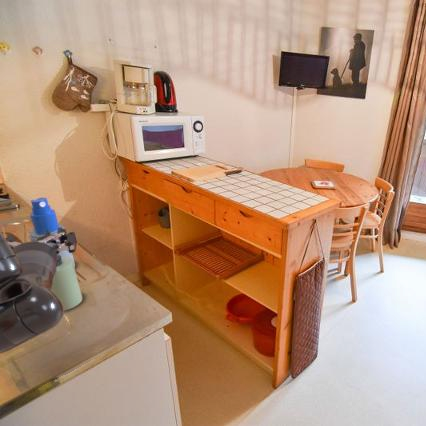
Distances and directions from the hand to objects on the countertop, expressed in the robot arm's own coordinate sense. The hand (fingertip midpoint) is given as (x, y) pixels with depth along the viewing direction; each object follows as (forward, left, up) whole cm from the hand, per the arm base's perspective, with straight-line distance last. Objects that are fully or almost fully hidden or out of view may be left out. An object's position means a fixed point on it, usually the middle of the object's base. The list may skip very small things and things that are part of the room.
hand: (37, 234), depth 73 cm
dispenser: (-8, +8, -27) cm, 29 cm away
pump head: (-9, +9, -10) cm, 16 cm away
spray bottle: (-24, +22, -27) cm, 42 cm away
